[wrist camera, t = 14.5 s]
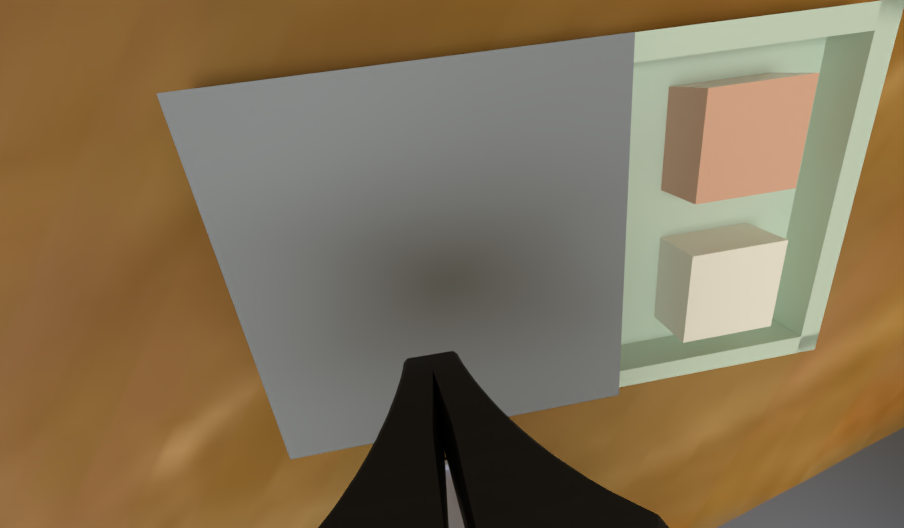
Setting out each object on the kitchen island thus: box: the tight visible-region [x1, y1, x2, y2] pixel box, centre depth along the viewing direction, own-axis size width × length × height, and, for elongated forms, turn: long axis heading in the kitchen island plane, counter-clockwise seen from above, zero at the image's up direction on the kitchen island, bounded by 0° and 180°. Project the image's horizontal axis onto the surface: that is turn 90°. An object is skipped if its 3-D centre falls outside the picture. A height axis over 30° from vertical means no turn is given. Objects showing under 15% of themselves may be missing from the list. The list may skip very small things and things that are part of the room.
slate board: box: [156, 32, 635, 459], centre depth 19 cm, size 16×16×3 cm
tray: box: [619, 0, 904, 387], centre depth 21 cm, size 16×11×2 cm
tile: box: [654, 223, 788, 343], centre depth 21 cm, size 4×4×2 cm
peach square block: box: [661, 73, 819, 204], centre depth 19 cm, size 4×4×2 cm
